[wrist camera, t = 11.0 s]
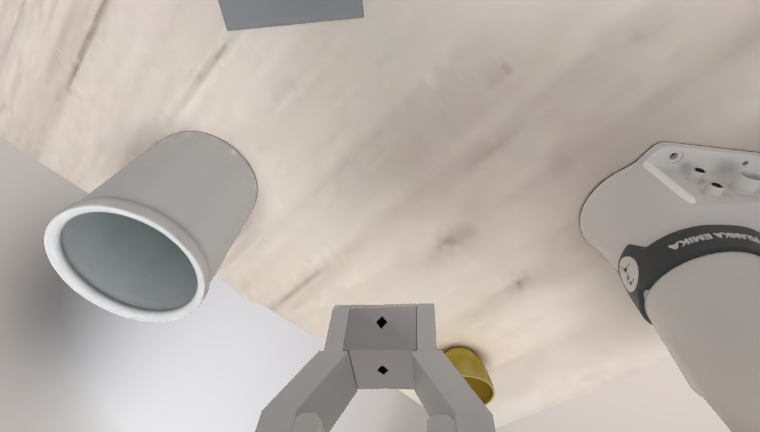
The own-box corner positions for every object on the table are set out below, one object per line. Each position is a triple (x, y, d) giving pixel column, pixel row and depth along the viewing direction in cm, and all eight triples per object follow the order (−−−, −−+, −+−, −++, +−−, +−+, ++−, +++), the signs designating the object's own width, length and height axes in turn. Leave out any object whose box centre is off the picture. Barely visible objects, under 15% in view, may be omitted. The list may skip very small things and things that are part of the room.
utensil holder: (122, 137, 49) (4, 222, 35) (231, 112, 46) (150, 194, 32) (183, 230, 57) (108, 329, 43) (279, 214, 54) (231, 315, 40)
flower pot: (417, 353, 70) (418, 391, 64) (463, 329, 66) (468, 368, 60) (454, 378, 74) (457, 416, 68) (499, 358, 69) (507, 397, 64)
